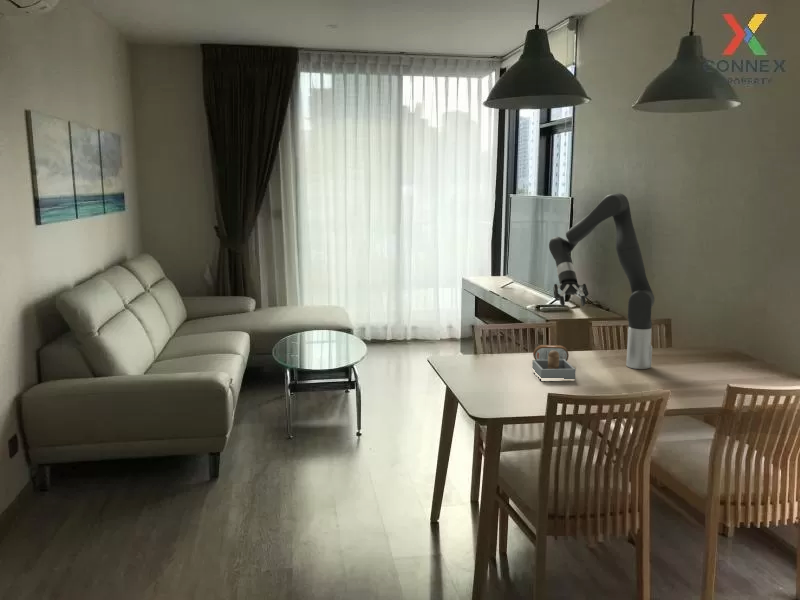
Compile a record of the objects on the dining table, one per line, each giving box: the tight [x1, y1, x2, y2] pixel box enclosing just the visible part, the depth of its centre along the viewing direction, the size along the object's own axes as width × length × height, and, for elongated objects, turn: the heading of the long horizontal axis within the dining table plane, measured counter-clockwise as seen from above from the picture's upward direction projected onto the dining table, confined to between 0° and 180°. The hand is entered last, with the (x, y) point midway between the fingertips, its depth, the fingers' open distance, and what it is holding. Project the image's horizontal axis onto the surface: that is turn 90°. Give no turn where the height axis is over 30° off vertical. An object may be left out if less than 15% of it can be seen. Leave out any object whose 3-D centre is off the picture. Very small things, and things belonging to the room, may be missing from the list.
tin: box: [532, 344, 570, 362], centre depth 276 cm, size 15×3×8 cm, turn 84°
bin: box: [531, 359, 576, 380], centre depth 258 cm, size 14×15×5 cm
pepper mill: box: [548, 350, 559, 369], centre depth 258 cm, size 4×4×10 cm
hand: (573, 305), depth 269 cm, fingers open, 8 cm apart
